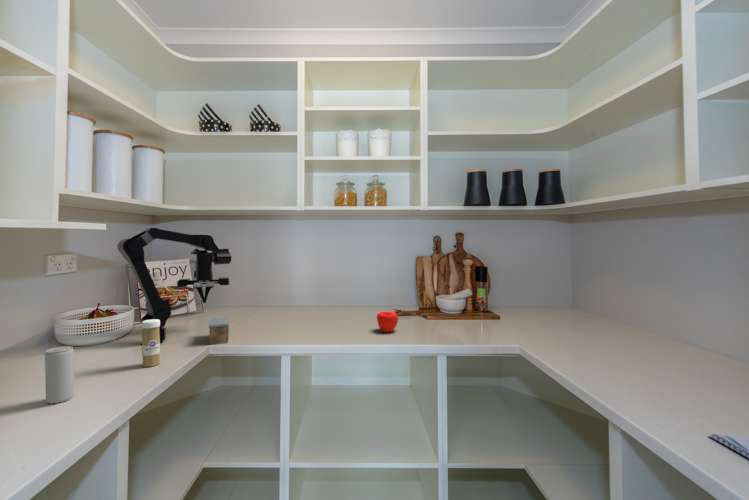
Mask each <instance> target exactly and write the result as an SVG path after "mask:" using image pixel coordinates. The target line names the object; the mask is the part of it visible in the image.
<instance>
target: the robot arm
mask: <svg viewBox="0 0 749 500" xmlns="http://www.w3.org/2000/svg"><path fill="white" fill-rule="evenodd" d="M154 240H161V241H162V240H163V241H167V242H173V243H179V244H184V245H185V244H186V245H189V246H191V247H194V249H193V250H192V251H191V252H190V255H196V256H195V257H196V258H195V260H196V261H195V263H196V264H195V265H196V266H195V267H196V269H195V270H194V273H193V278H194V280H193V279H192V280H191V278H180V279H178V280H177V282H176V286H177V287H176V288H186V287H187V286H193V289H196V291H197V292H198V294H199V296H200V298H201V301H202V304H206V303H207V301H208V297H209V294H210V291H211V289H212V288H215V284H219V286H229V285H230V278H229V277H228V276H225V277H223V276H222V277H221V276H220V277H218V278H217V279H214V275H213V264H214V265H215V266H217V265H229V264H231V262H232V255H231V252H230V251H229V248H219V247H218V246H217V244H216V243H215V241H214V238H213V236H212V235H210V234H189V233H185V232H177V231H173V230H172V231H171V230H168V229H167V230H165V229H161V228H157V227H148V228H146V229H145V230H144V231H142V232H140V233H137V234H136V235H134V236H132V237H130V238H123V239H121V240H120V241H119V242H118V244H117V250H118V252H119V253H120V254H121V257H123V259H125V261H126V262H127V264H129V265H130V268H131V270H132V272H133V274H134V275H135V279H136V281H137V283H138V286H139V288H140V289H141V292H142V293H143V296H144V298H145V308H146V314H145V315H143V316H142V317H141V319H139V320H140V323H141V324H142V321H145V320H150V319H159V320H160V327H159V334H160V344H162V343H164V341H165V340H166V338H167V328H166V327H165V326H166V323H167V320H168V319H170V317H171V315H172V309H173V308H172V307H171V305H170V302H169V299H167V298H164V297H161V296H160V294H159V292H158V289H157V287H156V285H155V283H154V279H153V278H152V276H151V273H150V271H149V269H148V267H147V264H146V261H145V251H144V248H145V247H146V246H147V245H149V244H150V243H152V242H153V241H154ZM200 249H201V250H200ZM204 285H206V286H205V290H204ZM140 346H142V342H141V343H140Z"/></svg>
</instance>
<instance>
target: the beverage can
mask: <svg viewBox="0 0 749 500" xmlns="http://www.w3.org/2000/svg"><path fill="white" fill-rule="evenodd" d="M73 347H74V346H72V345H63V346H62V345H61V346H57V347H52V348H49V349H46V350H45V354H44V371H45V372H44V374H45V378H44V379H45V402H46V403H47V404H48V403H58V404H60V403H59V402H62V403H64V402H63V401H65V402H67V401H69V399H70V400H71V399H72V398H73V397H74V396H75V353H74V352H75V349H74V348H73ZM66 400H67V401H66Z"/></svg>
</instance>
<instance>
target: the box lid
mask: <svg viewBox="0 0 749 500" xmlns="http://www.w3.org/2000/svg"><path fill="white" fill-rule="evenodd" d="M228 323H229V324H230V316H221V317H211V319H210V322H209V323H208V329H210V328H213V327H222V326H228Z"/></svg>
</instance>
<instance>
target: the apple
mask: <svg viewBox="0 0 749 500" xmlns="http://www.w3.org/2000/svg"><path fill="white" fill-rule="evenodd" d="M376 321H377V324H378V328H379V329H380V330H381V332H382V333H392V332H393V331H394V330H395V329H396V327H397V324H398V322H399V315H398V313H395V312H392V311H380V312H378V313H377V314H376Z"/></svg>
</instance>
